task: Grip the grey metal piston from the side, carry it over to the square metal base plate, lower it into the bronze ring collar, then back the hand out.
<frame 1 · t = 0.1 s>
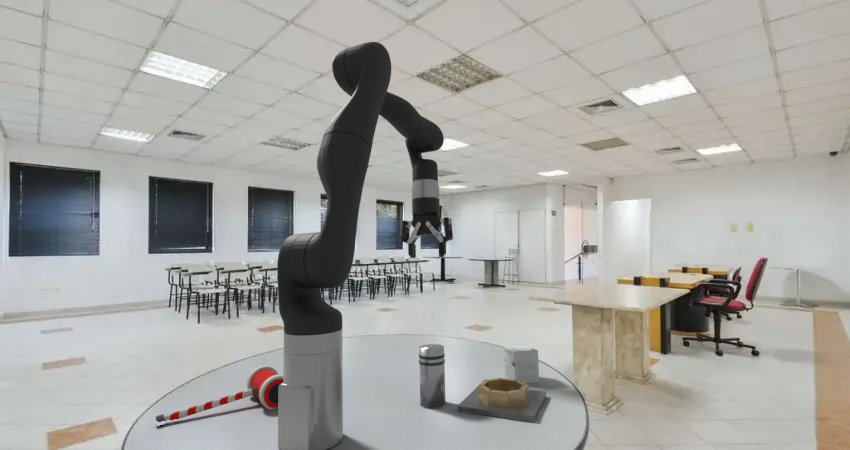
hand: (427, 257, 106), 29 cm above the table, tool pointing down, fingers open, 8 cm apart
skincare box: (522, 380, 92), on the table
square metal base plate: (504, 403, 77), on the table
toy hammer: (239, 410, 78), on the table
piston: (432, 403, 78), on the table
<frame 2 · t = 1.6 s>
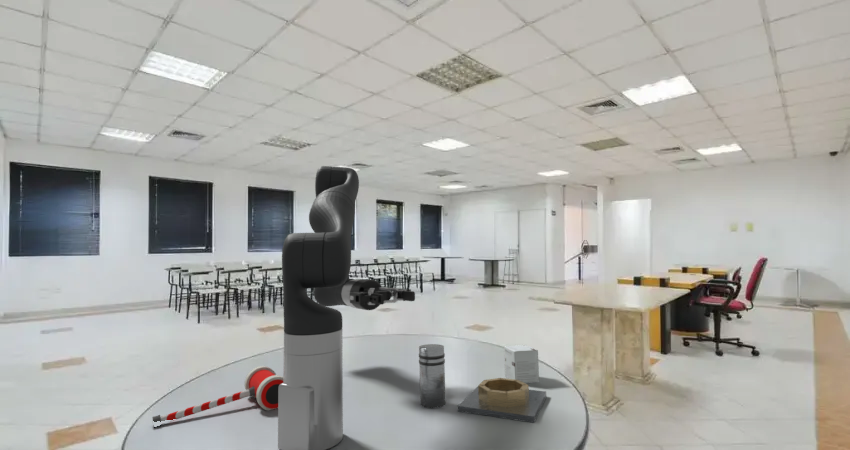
hand: (398, 297, 88), 20 cm above the table, tool horizontal, fingers open, 8 cm apart
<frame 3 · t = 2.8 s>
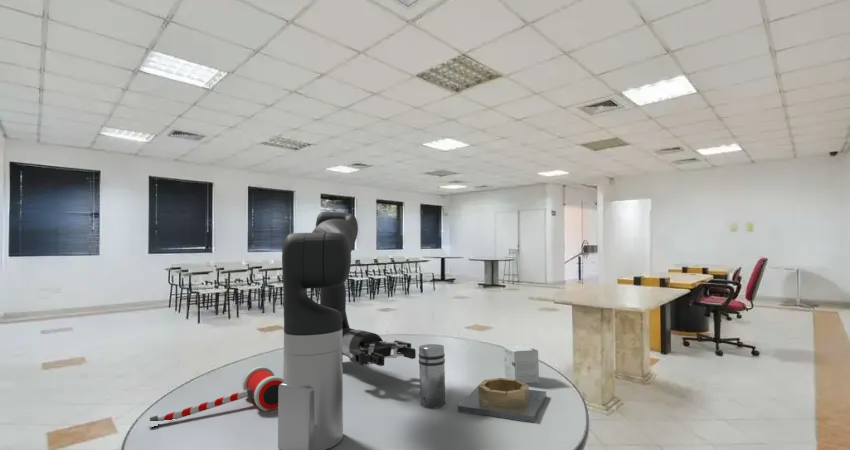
hand: (399, 357, 87), 7 cm above the table, tool horizontal, fingers open, 8 cm apart
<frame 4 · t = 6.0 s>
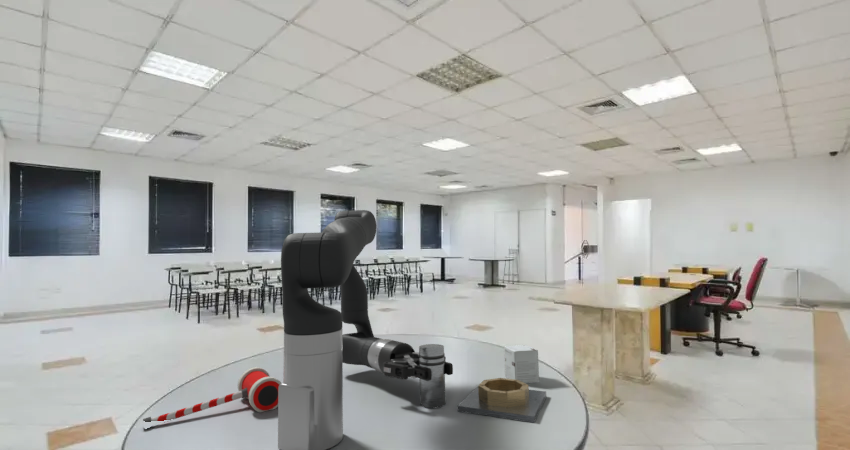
hand: (440, 372, 76), 7 cm above the table, tool horizontal, fingers closed on piston, 5 cm apart
piston: (433, 403, 78), on the table, touching gripper
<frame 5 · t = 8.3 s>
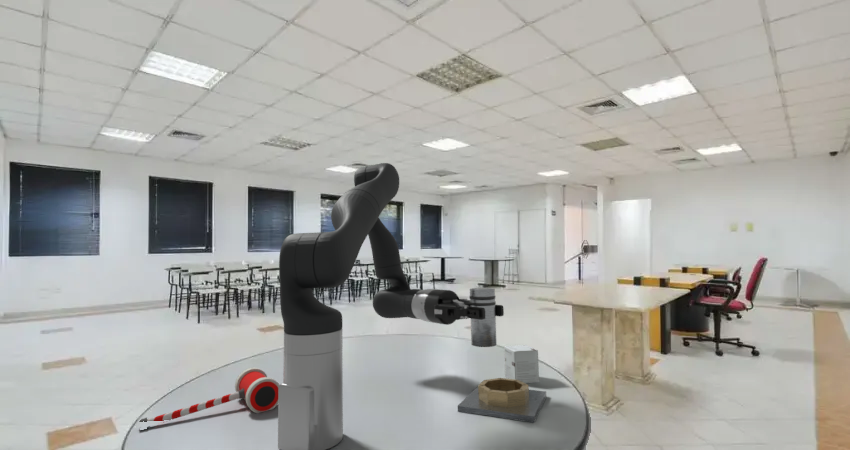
hand: (493, 312, 77), 18 cm above the table, tool horizontal, fingers closed on piston, 5 cm apart
piston: (483, 344, 79), point 11 cm above the table, touching gripper
when the fingers open (9 cm above the table, at t = 10.7 s): piston drops 1 cm, resting on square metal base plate.
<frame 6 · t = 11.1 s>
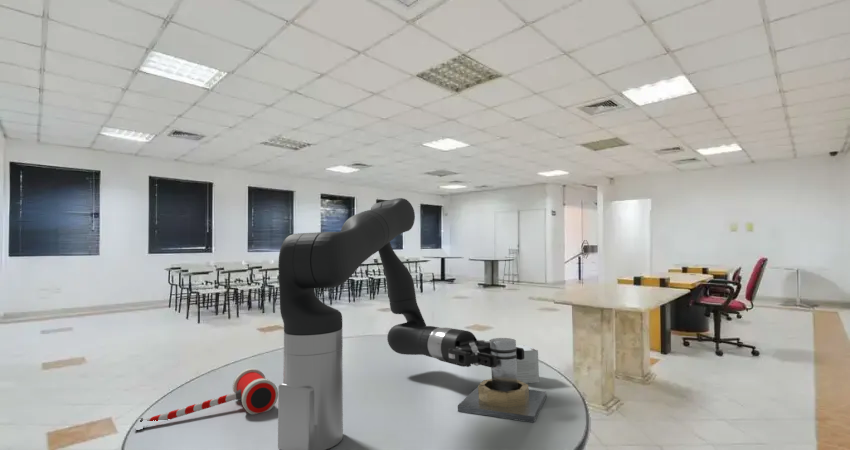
hand: (509, 358, 76), 9 cm above the table, tool horizontal, fingers open, 8 cm apart
piston: (505, 397, 77), point 1 cm above the table, touching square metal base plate
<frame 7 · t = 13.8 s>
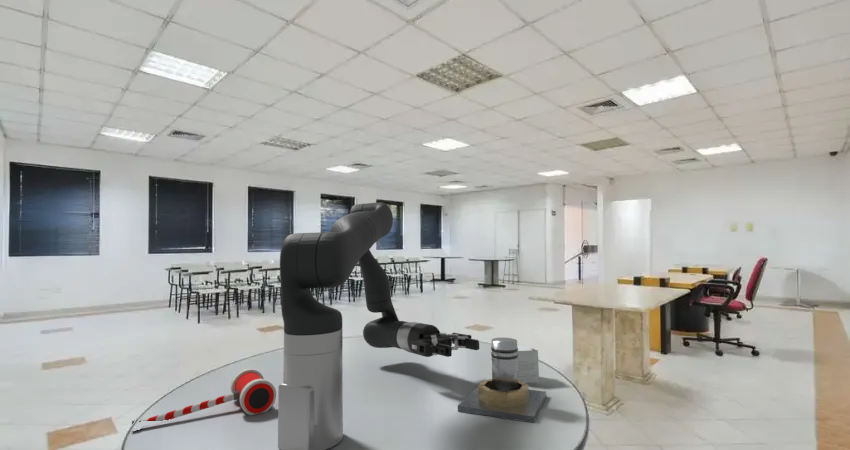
hand: (464, 348, 86), 9 cm above the table, tool horizontal, fingers open, 8 cm apart
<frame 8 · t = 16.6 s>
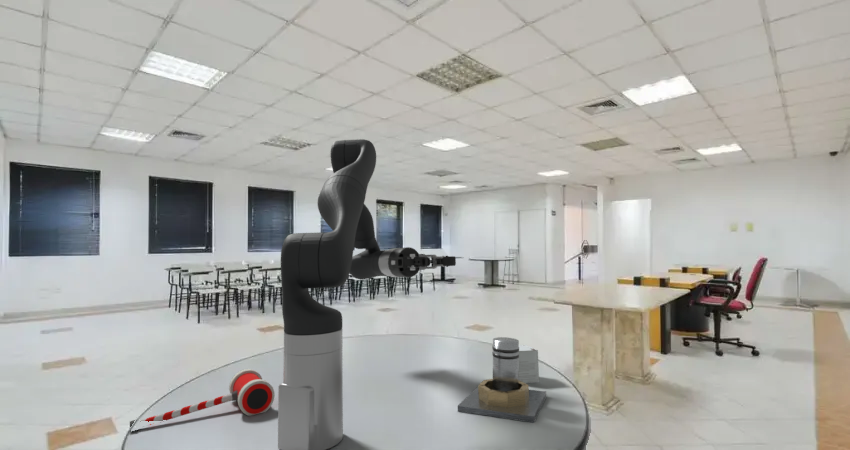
hand: (441, 261, 89), 28 cm above the table, tool horizontal, fingers open, 8 cm apart
at the end: piston 0.5 cm off-centre on the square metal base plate, point 1.1 cm above the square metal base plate's base; piston tilted 3°; the gripper is holding nothing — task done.
